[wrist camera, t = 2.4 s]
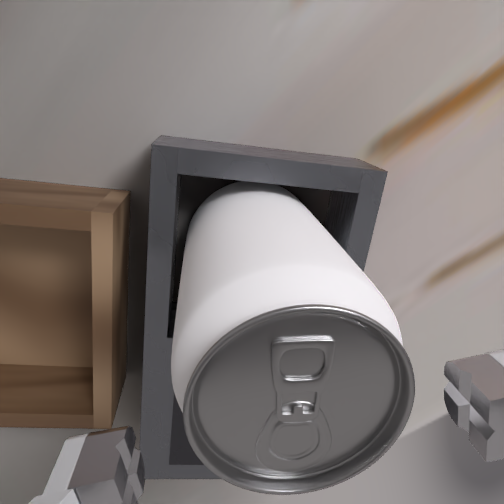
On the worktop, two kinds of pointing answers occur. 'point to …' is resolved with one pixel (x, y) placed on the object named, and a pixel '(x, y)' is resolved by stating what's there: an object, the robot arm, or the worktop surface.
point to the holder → (62, 304)
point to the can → (283, 348)
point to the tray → (164, 254)
